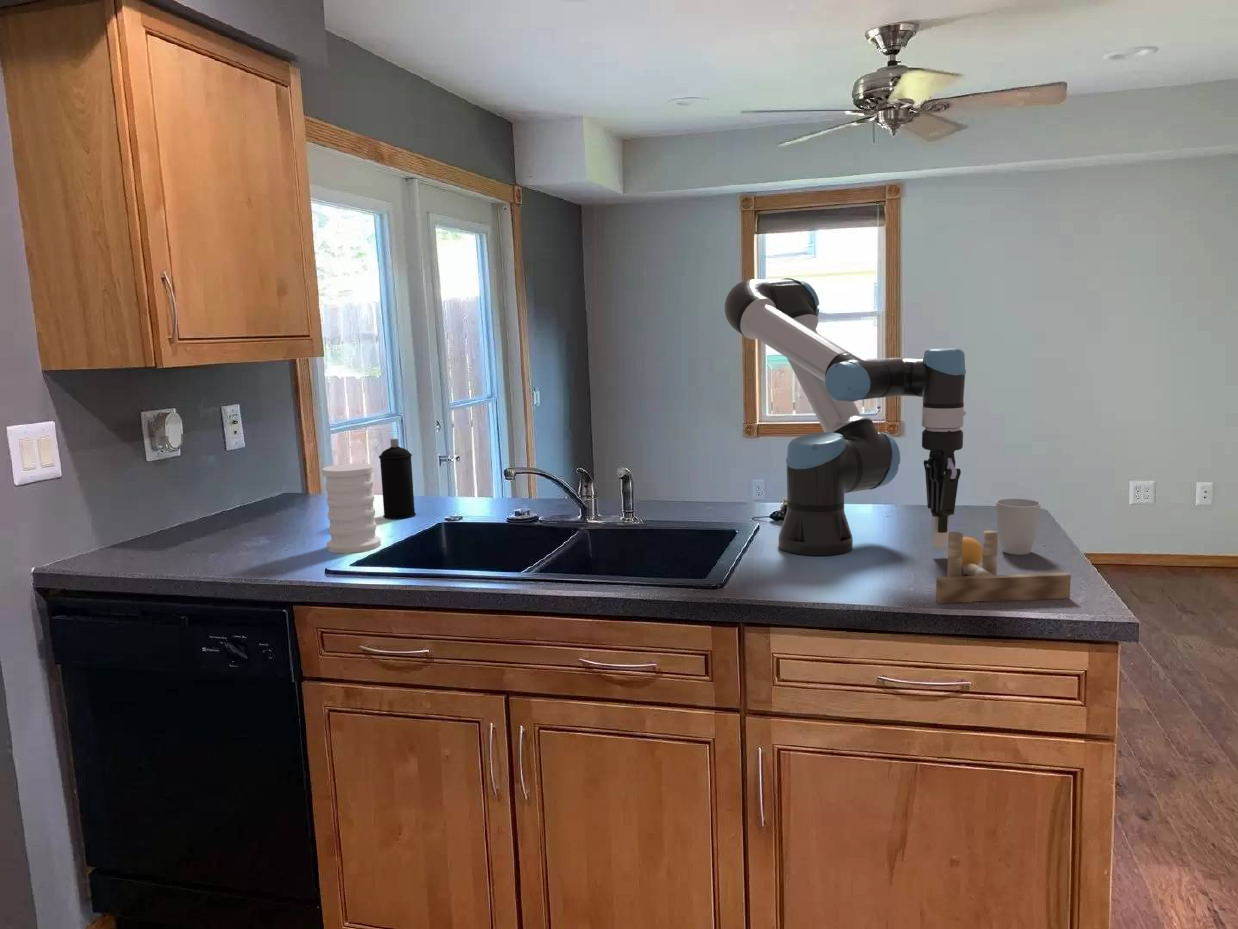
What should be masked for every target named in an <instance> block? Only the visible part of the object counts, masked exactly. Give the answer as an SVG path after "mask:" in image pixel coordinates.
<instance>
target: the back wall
mask: <svg viewBox="0 0 1238 929" xmlns="http://www.w3.org/2000/svg"><path fill="white" fill-rule="evenodd" d="M1071 578H1072V575H1071V574H1070V573H1069V572H1047V573H1046V572H1043V573H1042V572H1041V573H1040V572H1039V573H1019V574H997V575H987V576H968V575H967V576H962V575H961V577H947V576H943V577H941V576H940V577H939V576H938V577H936V580H935V581H936V583H935V584H936V586H935V588H936V590H935V601H936V602H937V603H938V604H955V603H956V604H957V603H958V602H959V603H960V602H961V603H981V602H982V601H986V602H1004V601H1005V602H1009V601H1028V600H1029V601H1031V600H1032V601H1033V600H1034V601H1035V600H1057V599H1058V600H1060V599H1063V600H1064V599H1070V597H1071V581H1072V580H1071ZM973 601H975V602H973ZM976 601H978V602H976ZM979 601H981V602H979ZM961 603H960V604H961Z"/></svg>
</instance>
